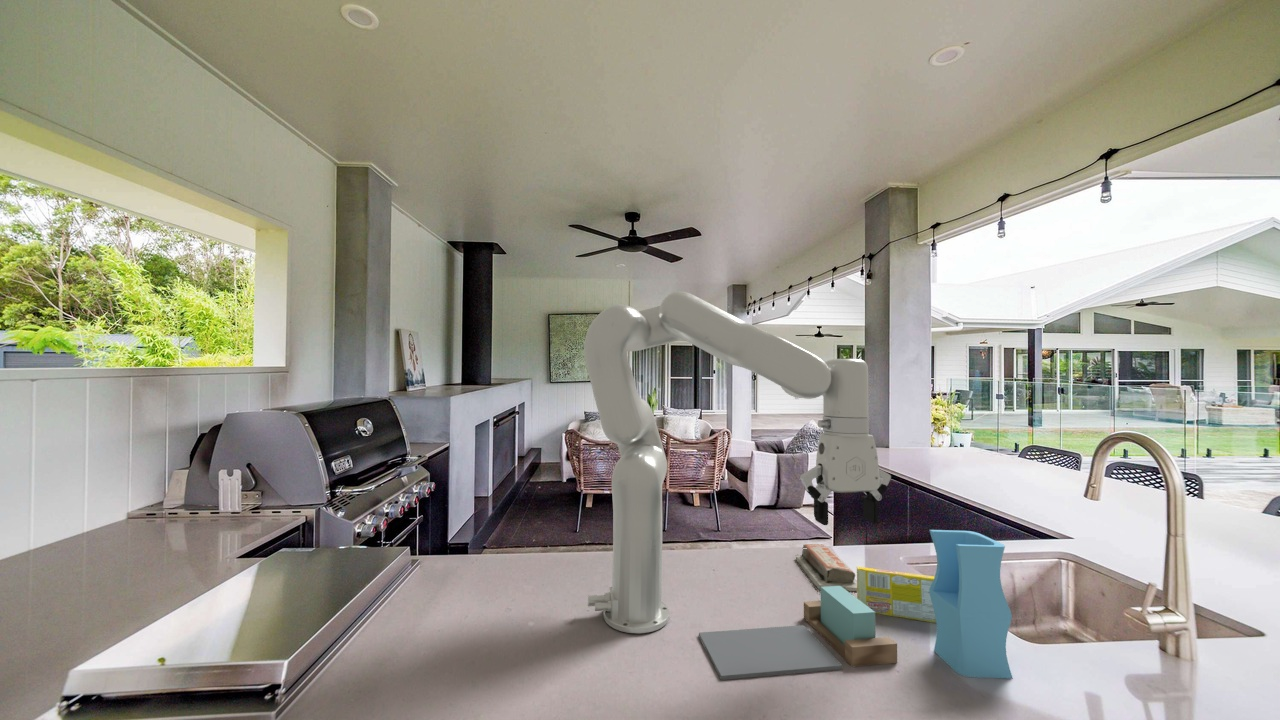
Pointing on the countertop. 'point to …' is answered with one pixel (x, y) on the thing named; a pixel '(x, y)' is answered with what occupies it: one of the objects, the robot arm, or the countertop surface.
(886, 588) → the candy box
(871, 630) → the block
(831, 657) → the mat
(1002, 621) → the vase
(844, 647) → the frame
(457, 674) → the countertop surface
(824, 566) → the packaged product
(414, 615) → the countertop surface
